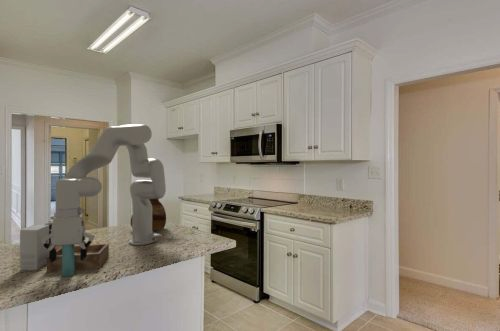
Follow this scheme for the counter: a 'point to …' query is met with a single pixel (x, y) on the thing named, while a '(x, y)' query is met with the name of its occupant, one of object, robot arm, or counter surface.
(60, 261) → the box
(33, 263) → the skincare box
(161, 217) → the ceramic pitcher
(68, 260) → the peg
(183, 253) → the counter surface
